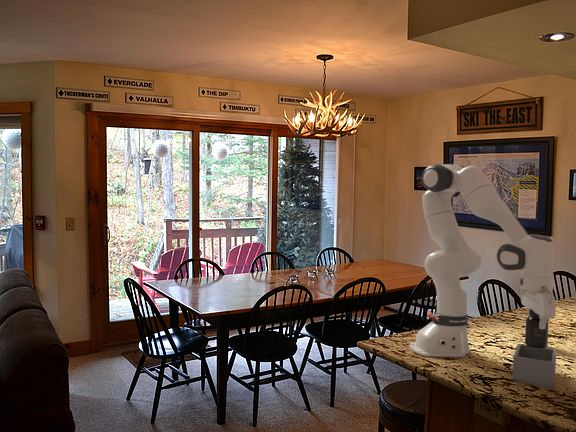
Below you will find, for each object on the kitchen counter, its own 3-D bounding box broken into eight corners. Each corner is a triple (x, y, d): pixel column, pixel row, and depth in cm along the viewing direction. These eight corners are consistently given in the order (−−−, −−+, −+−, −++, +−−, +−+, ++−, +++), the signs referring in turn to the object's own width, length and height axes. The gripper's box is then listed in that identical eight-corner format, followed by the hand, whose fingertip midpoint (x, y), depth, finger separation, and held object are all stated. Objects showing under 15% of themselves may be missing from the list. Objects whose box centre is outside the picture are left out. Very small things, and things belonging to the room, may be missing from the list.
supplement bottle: (550, 345, 171) (552, 310, 170) (543, 350, 166) (545, 313, 165) (529, 341, 175) (530, 306, 175) (521, 345, 171) (523, 309, 170)
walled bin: (553, 388, 162) (554, 363, 161) (512, 380, 167) (513, 356, 167) (555, 372, 176) (556, 349, 175) (517, 365, 181) (518, 343, 181)
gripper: (562, 290, 159) (560, 334, 160) (536, 278, 179) (535, 317, 180) (540, 290, 159) (539, 333, 160) (517, 278, 180) (516, 317, 181)
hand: (536, 325), depth 170 cm, fingers closed on supplement bottle, 7 cm apart
